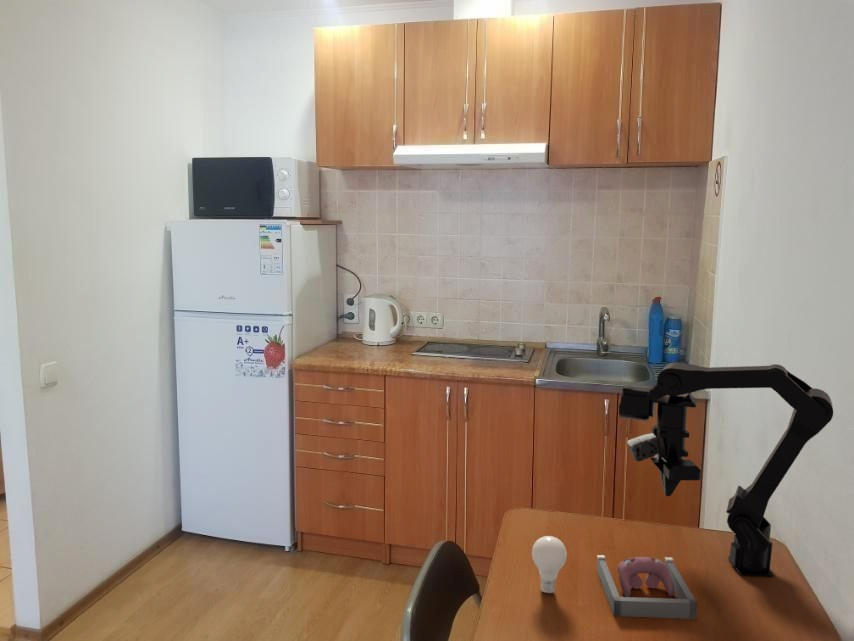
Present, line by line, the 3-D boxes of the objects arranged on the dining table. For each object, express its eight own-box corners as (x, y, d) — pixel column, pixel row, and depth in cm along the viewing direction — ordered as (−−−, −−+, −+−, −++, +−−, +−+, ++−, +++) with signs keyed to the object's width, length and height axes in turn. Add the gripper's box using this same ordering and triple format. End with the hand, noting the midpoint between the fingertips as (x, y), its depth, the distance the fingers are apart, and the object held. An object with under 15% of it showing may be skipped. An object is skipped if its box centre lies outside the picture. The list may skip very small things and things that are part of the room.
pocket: (670, 573, 132) (671, 557, 132) (696, 619, 118) (698, 601, 117) (596, 570, 133) (597, 555, 132) (613, 615, 118) (614, 598, 118)
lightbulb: (543, 578, 130) (545, 526, 128) (571, 592, 125) (574, 538, 123) (523, 591, 125) (525, 537, 124) (551, 606, 121) (554, 550, 119)
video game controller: (667, 594, 128) (663, 555, 130) (677, 596, 124) (672, 556, 125) (617, 595, 127) (613, 556, 129) (625, 598, 123) (621, 558, 125)
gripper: (620, 410, 147) (617, 477, 150) (645, 440, 129) (642, 515, 131) (671, 410, 147) (667, 477, 149) (704, 439, 128) (699, 515, 131)
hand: (667, 495), depth 140 cm, fingers closed
